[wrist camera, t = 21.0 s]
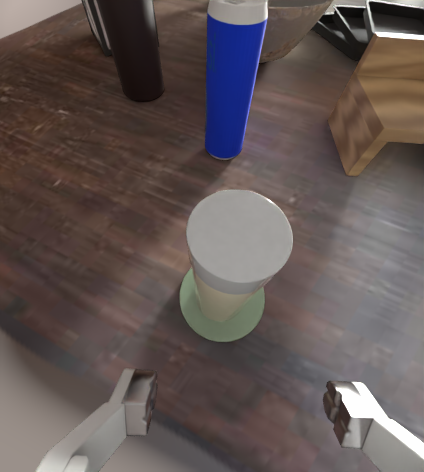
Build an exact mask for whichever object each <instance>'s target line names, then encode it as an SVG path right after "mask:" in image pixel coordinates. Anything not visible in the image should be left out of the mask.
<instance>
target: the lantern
mask: <svg viewBox="0 0 424 472" xmlns="http://www.w3.org/2000/svg"><path fill="white" fill-rule="evenodd" d="M82 3H83V6H84V9H85V12H86V15H87V18H88V21H89V24H90V27H91V31H92V33H93V35H95V37H96V39H97V40H98V42H99V44H100V46H101V47H102V49H103V52H104V54H105V56H110V55H112V52H111V48H110V45H109V41H108V38H107V35H106V31H105V28H104V25H103V21H102V18H101V15H100V11H99V8H98V4H97V1H96V0H82ZM152 5H153V0H152ZM153 12H154V5H153ZM154 20H155V12H154ZM155 27H156V20H155ZM156 34H157V27H156ZM157 41H158V34H157ZM158 47H159V42H158Z"/></svg>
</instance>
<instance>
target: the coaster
mask: <svg viewBox="0 0 424 472" xmlns="http://www.w3.org/2000/svg"><path fill="white" fill-rule="evenodd" d="M179 301H180V307H181V311H182V314H183V316H184V318H185V320H186V322H187V323H188V325H189V326H190V327H191V328H192V329H193V330H194V331H195V332H196V333H197V334H199V335H200V336H202V337H203V338H205V339H208V340H210V341H215V342H232V341H236V340H238V339H241V338H243V337H244V336H246V335H247V334H249V333H250V332H251V331H252V330H253V329H254V328H255V327H256V326H257V324H258V323H259V321H260V319H261V317H262V314H263V311H264V306H265V295H264V289H263V287H262V288H260V290H259V291H258V292H257V293H256V294H255V295H254V296H253V298H252V299H251V300H250V301H249V302H248V303H247V304H246V306H245V307H244V308H243V309H242V310H241V311H240V312H239V314H238V315H237V316H235V317H234V318H232V319H230V320H227V321H214V320H211V319H209V318H207V317H206V316H204V315H203V314H202V313H201V311H200V310H199V308H198V306H197V304H196V299H195V291H194V281H193V272H192V268H191V269H190V270H189V271H188V272H187V274H186V275H185V277H184V279H183V281H182V284H181V288H180V294H179Z"/></svg>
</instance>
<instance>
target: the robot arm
mask: <svg viewBox="0 0 424 472" xmlns="http://www.w3.org/2000/svg"><path fill="white" fill-rule="evenodd" d="M156 380H157V371H153V370H142V369H128V368H125V369H124V370H123V372H122V374H121V376H120V378H119V380H118V383H117V385H116V387H115V389H114V391H113V393H112V395H111V398H110V400H109V402H108V403H104V404H103V405H101V406H100V407H99V408H98V409H97V410H96V411H94V412H93V413H92V414H91V415H90V416H89V417H87V418H86V419H85V420H84V421H83V422H82V423H80V424H79V425H78V426H77V427H76V428H75V429H73V430H72V431H71V432H70V433H69V434H67V435H66V436H65V437H64V438H63V439H62V440H61V441H59V442H58V443H57V444H56V445H55V446H53V448H51V449H50V450H49V451H48V452H47V453H46V454H45V456H44V458H43V459H42V461H41V463H40V464H39V466H38V468H37V469H36V471H35V472H99V471H100V469H101V468H102V467H103V466H104V464H105V463H106V462H107V461H108V459H109V458H110V457H111V456H112V454H113V453H114V452H115V451H116V450H117V448H118V447H119V446H120V445H121V443H122V442H123V441H124V440H125V438H126V436H147V433H148V429H149V425H150V422H151V411H152V410H153V409H154V406H155V402H156V397H157V383H156ZM326 387H327V389H328V391H327V392H326V393H325V394H324V397H323V405H324V409H325V413H326V415H327V417H328V419H329V420H330V421H331V422H332V423H333V424H334V428H333V430H334V432H335V434H336V437H337V439H338V441H339V443H340V445H341V447H342V448H353V449H362V451H363V452H364V454H365V455H366V456H367V457H368V458H369V459H370V460H371V461H372V462H373V463H374V465H375V466H376V467H377V468H378V469H379V470H380V471H381V472H424V443H423V442H421V441H420V440H419V439H417V438H416V437H415V436H414V435H412V434H411V433H410V432H408V431H407V430H406V429H404V428H403V427H402V426H400V425H399V424H398V423H397V422H395V421H394V420H392V419H389V418H388V417H387V415H386V414H385V413H384V411H383V410H382V408H381V407H380V406H379V404H378V403H377V401H376V400H375V399H374V397H373V396H372V394H371V393H370V392H369V390H368V389H367V387H366V386H365V385H364V384H363V383H362V382H347V381H328V382H327V385H326Z"/></svg>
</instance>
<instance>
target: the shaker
mask: <svg viewBox="0 0 424 472" xmlns="http://www.w3.org/2000/svg"><path fill="white" fill-rule="evenodd" d="M186 238H187V246H188V253H189V259H190V263H191V265H192V272H193V281H194V291H195V299H196V304H197V306H198V308H199V310H200V311H201V313H202V314H203V315H204V316H206V317H207V318H209V319H211V320H214V321H227V320H230V319H232V318H234V317H235V316H237V315H238V314H239V312H240V311H241V310H242V309H243V308H244V307H245V306H246V304H247V303H248V302H249V301H250V300H251V299H252V298H253V296H254V295H255V294H256V293H257V292H258V291H259V290H260V288H262V287H263V286H265V285H266V284H267V283H268V282H269V281H270V280H271V279H272V278H273V277H274V276H275V275H276V274H277V272H278V271H279V270H280V269H281V268H282V267H283V266H284V264H285V263H286V262H287V260H288V258H289V256H290V253H291V250H292V245H293V236H292V230H291V227H290V224H289V222H288V220H287V218H286V216H285V215H284V213H283V212H282V211H281V210H280V208H279V207H278V206H277V205H275V204H274V203H273V202H272V201H270V200H269V199H267V198H265V197H263V196H262V195H259V194H257V193H254V192H250V191H246V190H224V191H220V192H217V193H214V194H212V195H210V196H208V197H206V198H205V199H203V200H202V201H201V202H200V203H199V204H198V205H197V206H196V207H195V208H194V210H193V211H192V213H191V214H190V217H189V219H188V222H187V228H186Z"/></svg>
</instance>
